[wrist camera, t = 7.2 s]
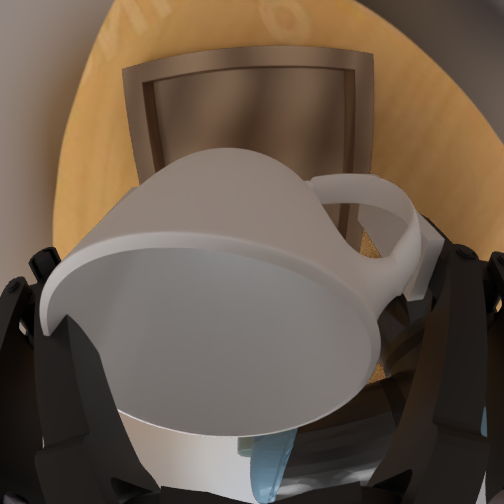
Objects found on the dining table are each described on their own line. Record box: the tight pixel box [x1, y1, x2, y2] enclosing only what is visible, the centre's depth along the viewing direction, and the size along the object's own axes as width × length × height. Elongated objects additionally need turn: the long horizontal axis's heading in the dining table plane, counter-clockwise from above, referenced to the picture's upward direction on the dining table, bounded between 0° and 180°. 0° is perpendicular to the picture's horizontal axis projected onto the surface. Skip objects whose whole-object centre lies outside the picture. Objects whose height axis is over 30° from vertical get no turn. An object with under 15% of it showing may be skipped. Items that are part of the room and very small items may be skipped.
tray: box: [122, 46, 374, 253], centre depth 21 cm, size 18×18×4 cm
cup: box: [238, 436, 254, 457], centre depth 45 cm, size 8×8×10 cm
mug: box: [40, 148, 421, 437], centre depth 11 cm, size 12×9×12 cm
